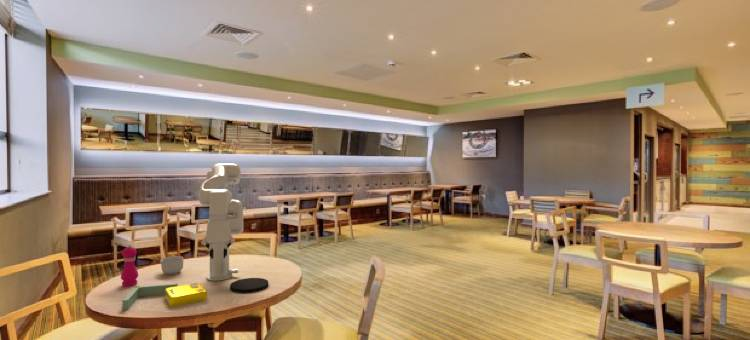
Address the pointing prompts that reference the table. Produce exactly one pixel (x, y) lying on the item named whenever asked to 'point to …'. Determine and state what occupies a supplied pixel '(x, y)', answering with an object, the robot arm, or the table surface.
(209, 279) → the robot arm
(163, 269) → the teacup
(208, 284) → the table surface
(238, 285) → the wireless charger
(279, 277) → the table surface
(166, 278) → the table surface
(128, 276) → the pepper mill
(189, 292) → the element tile
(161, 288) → the corner stop
